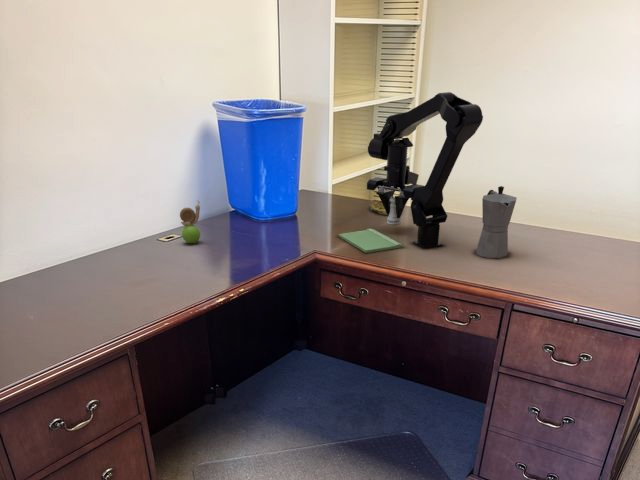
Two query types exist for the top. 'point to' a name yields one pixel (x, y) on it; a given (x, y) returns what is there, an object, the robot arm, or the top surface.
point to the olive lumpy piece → (378, 208)
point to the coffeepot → (495, 224)
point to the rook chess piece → (393, 213)
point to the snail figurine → (190, 224)
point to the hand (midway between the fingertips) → (393, 217)
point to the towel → (370, 240)
